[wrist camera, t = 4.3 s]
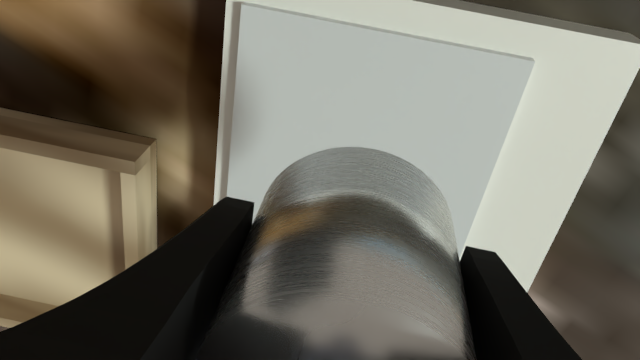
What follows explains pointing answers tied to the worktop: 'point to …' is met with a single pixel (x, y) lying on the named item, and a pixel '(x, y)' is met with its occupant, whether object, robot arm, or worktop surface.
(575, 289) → the worktop surface
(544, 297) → the worktop surface
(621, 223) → the worktop surface
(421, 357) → the cylinder
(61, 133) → the tray
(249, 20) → the scale
